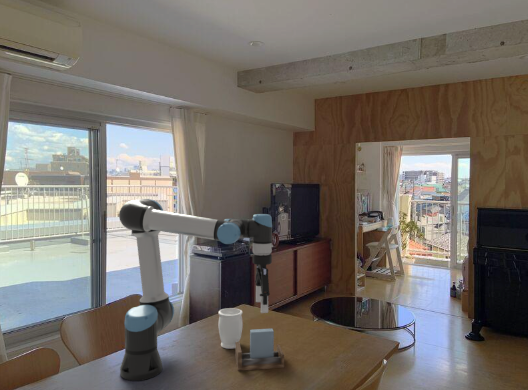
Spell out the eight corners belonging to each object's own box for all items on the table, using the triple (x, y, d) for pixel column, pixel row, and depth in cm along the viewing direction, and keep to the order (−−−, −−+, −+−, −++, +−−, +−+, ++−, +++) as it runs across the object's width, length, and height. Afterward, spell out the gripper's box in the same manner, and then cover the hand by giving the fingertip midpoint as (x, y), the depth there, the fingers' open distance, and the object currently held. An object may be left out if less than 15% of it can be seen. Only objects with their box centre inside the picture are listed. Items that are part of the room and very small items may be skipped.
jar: (213, 347, 171) (213, 312, 170) (226, 338, 180) (226, 306, 180) (234, 352, 166) (234, 316, 165) (246, 343, 175) (246, 310, 175)
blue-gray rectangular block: (250, 362, 154) (251, 332, 153) (249, 359, 157) (250, 329, 156) (273, 361, 155) (273, 331, 155) (272, 358, 158) (272, 328, 158)
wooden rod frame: (237, 370, 149) (237, 352, 149) (235, 359, 159) (235, 341, 159) (284, 367, 152) (284, 349, 152) (279, 356, 162) (279, 339, 162)
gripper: (277, 259, 143) (277, 317, 144) (266, 248, 168) (265, 297, 168) (257, 259, 142) (256, 318, 142) (248, 248, 166) (248, 298, 167)
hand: (261, 307), depth 155 cm, fingers open, 13 cm apart
